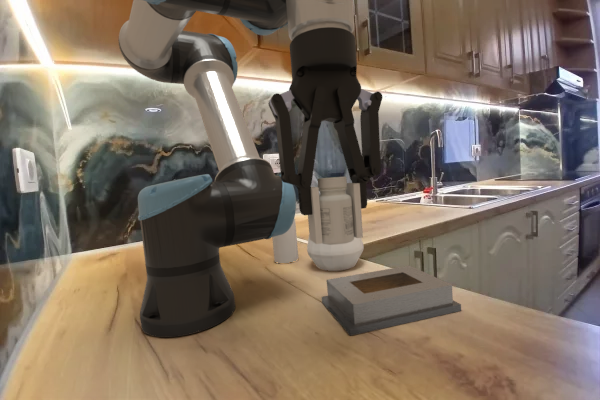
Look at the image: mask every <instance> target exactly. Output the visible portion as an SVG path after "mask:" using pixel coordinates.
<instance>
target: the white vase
mask: <svg viewBox="0 0 600 400" xmlns="http://www.w3.org/2000/svg"><path fill="white" fill-rule="evenodd" d="M307 240H308V241H307V244H306V245H307V246H306V248H307V249H306V251H307V254H308V256H309V258H310V259H311V260H312V262H313V263H314V265H315V266H316V268H318V269H320V270H322V269H323V270H322V271H327V270H328V271H330V272H333V271H334V272H338V271H344V270H345V271H346V270H349V269H352V268H354V267H355V266H356V265H357V263H358V261H359V259H360V257H361V255H362V253H363V251H364V248H365V246H364V242H363V239H362V238H355V237H354V240H353V241H351V242H349V243H344V244H336V245H327V244H322V243H321V244H315V243H314V242H313V241H311V240H310V236H309V235H308V239H307Z"/></svg>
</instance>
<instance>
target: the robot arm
mask: <svg viewBox="0 0 600 400" xmlns="http://www.w3.org/2000/svg"><path fill="white" fill-rule="evenodd" d="M354 11H355V10H354V0H133V1H132V5H131V9H130V12H129V13H130V14H129V19H128V20H126V21H125V22H124V23H123V25H122V26H121V28H120V30H119V33H118V47H119V51H120V52H121V56H122V57H123V59H124V60H125V61H126V62H127V64H128V65H129V66H130V67H131V68H132V69H134V71H136V72H137V73H139V74H140V75H142V76H144V77H146V78H148V79H150V80H153V81H157V82H159V83H165V84H166V83H168V84H178V85H179V84H180V85H183V86H184V89H185V90H186V92H187V93H188V94H189V95H190V96H191V97H192V98H194V100H195V101H196V104H197V107H198V111H199V113H200V116H201V120H202V123H203V126H204V129H205V133H206V135H207V138H208V141H209V145H210V148H211V151H212V154H213V157H214V160H215V163H216V166H217V169H218V172H217V174H216V176H215V177H214V181H213V178H212V176H211V175H210V174H209V173H206V174H205V173H204V174H200V175H195V176H189V177H185V178H179V179H174V180H170V181H165V182H161V183H156V184H152V185H148V186H145V187H144V188H142V189H141V190H140V191H139V193H138V195H137V204H138V205H137V208H138V209H137V210H138V216H137V220H138V221H139V222H140V229H141V230H140V231H141V238H142V245H143V255H144V263H145V271H146V282H145V288H144V291H143V297H142V301H141V307H140V312H139V320H140V328H141V330H142V331H143V333H144V334H146V335H149V336H153V337H158V338H173V337H181V336H188V335H192V334H196V333H199V332H200V333H201V332H202V331H206V330H208V329H210V328H213V327H216V326H217V325H218V324H221V323H222V322H224V321H225V320H226V319H228V318H229V317H231V315H233V313H234V312H235V310H236V302H235V301H236V300H235V294H234V291H233V288H232V287H231V284H230V283H229V279H228V278H227V276H226V273H225V272H224V270H223V267H222V266H221V259H220V248H224V247H230V246H231V247H232V246H235V245H241V244H245V243H251V242H256V241H262V240H270V239H271V238H272V237H274V236H278V235H282V234H284V233H286V232H287V231H288V230H289V229H290V227H291V226H292V224H293V221H294V219H295V217H296V211H297V195H298V207H299V212H300V213H301V215H303V216H307V220H308V221H307V223H308V232H309V233H308V237H309V236H310V240H311V241H313V242H314V243H315V244H321V243H322V229H321V216H320V202H319V196H320V191H319V188H318V186H312V182H313V176H314V167H315V162H316V161H315V160H316V153H317V147H318V140H319V132H320V128H321V126H322V122H324V121H325V122H328V123H332V124H333V128H334V130H335V131H336V133H337V137H338V139H339V142H340V143H339V144H340V148H341V151H342V154H343V158H344V161H345V165H346V168H347V173H348V176H349V179H350V181H351V182H347V187H346V188H347V189H345V193H346V194H348V195H350V196H351V199H352V213H353V229H354V237H355V238H361V239H362V238H364V234H363V233H364V230H363V219H362V217H363V216H362V215H363V214H362V209H367V206H368V195H367V194H368V193H367V183H368V182H369V181H370V180H371V178H374V177H376V176H379V175H380V173H382V169H381V166H382V165H381V145H380V141H381V140H380V117H379V112H380V108H381V103H382V101H383V93H382V92H380V91H375V92H370V91H368V90H366V89H363V88H362V85H361V83H360V81H359V79H358V76H357V68H358V63H357V62H358V60H357V44H356V36H355V35H354V34H353V33H354V31H355V15H354V13H355V12H354ZM196 12H201V13H208V14H212V15H219V16H225V17H228V18H235V19H239V20H240V22H241V23H242V25H244V27H245V28H247V29H249V30H250V31H251V32H253V33H254V34H256V35H257V36H258V35H259V36H269V35H272V34H273V33H275V32H277V31H278V30H279V29H282V28H284V27H286V25H287V31H288V38H289V39H290V41H291V42H290V43H289V55H290V69H291V77H292V78H291V84H290V87H289V89H288V90H286V91H285V92H282V93H273V94H272V96H271V97H270V98H269V100H268V107H269V109H270V111H271V113H272V116H273V118H274V119H275V121H274V122H275V129H276V139H277V141H276V143H277V150H278V160H279V161H278V162H279V168H280V170H279V171H280V174H278V175H276V173H275V171H274V169H273V167H272V165H271V163H270V161H268V160H266V159H264V158H261V157H260V155H259V152H258V150H257V148H256V144H255V142H254V140H253V137H252V133H251V132H250V129H249V127H248V124H247V122H246V120H245V118H244V115H243V111H242V109H241V107H240V104H239V103H238V99H237V97H236V95H235V92H234V89H233V87H234V84H235V82H236V80H237V76H238V70H239V69H238V67H239V66H238V61H237V53H236V50H235V48H234V45H233V44H232V43H231V41H230V40H229V39H228V38H226V37H224V36H220V35H218V34H214V33H202V32H196V31H188V30H184V29H185V27H186V26H187V24H188V23H189V21H190V20H191V19H192V17H193V16H194V14H195V13H196ZM292 101H293V103H294V104H295V105H296V107H297V108H298V110H300V111H301V113H302V114H303V123H302V138H301V145H300V151H299V152H300V153H299V158H298V167H297V173H296V167H295V166H296V164H295V163H296V162H295V154H294V146H293V144H294V143H293V135H292V134H293V133H292V132H293V131H292V122H291V116H290V111H291V110H292ZM357 101H358V109H360V110H361V111H360V118H359V120H360V121H359V123H360V137H361V138H360V140H361V147H360V144H359V140H358V137H357V136H358V135H357V131H356V129H355V118H354V114H353V110H352V109H353V108H354V105H355V103H356V102H357ZM294 187H296V189H297V195H296V190H295V188H294Z"/></svg>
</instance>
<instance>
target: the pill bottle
mask: <svg viewBox="0 0 600 400" xmlns="http://www.w3.org/2000/svg"><path fill="white" fill-rule="evenodd" d="M347 183H348V181H347V177H346V176H335V177H319V178H317V187H318V189H319V202H320V216H321V229H322V244H327V245H336V244H344V243H349V242H351V241H353V240H354V229H353V213H352V199H351V196H350V195H348V194H346V193H345V189H347V188H346V187H347Z"/></svg>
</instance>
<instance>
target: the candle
mask: <svg viewBox="0 0 600 400" xmlns="http://www.w3.org/2000/svg"><path fill="white" fill-rule="evenodd" d="M297 237H298V236H297V225H296V219H295V218H294V221H293V224H292V226H291V227H290V229H289V230H288V231H287V232H286V233H284V234H282V235H278V236H274V237H271V238H272V246H273V247H272V248H273V259H274V263H275V262H278V263H289V262H293V261H296V260H297V259H298V258H299V249H298V248H299V247H298V238H297ZM296 262H297V261H296ZM278 263H277V264H278ZM289 264H290V263H289Z"/></svg>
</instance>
